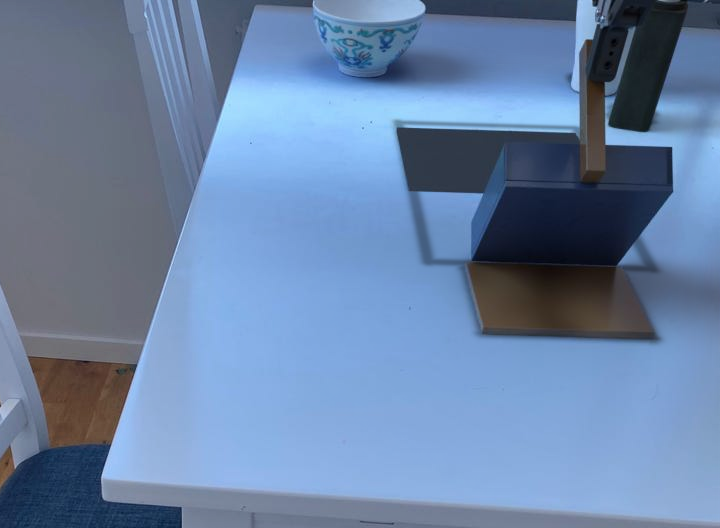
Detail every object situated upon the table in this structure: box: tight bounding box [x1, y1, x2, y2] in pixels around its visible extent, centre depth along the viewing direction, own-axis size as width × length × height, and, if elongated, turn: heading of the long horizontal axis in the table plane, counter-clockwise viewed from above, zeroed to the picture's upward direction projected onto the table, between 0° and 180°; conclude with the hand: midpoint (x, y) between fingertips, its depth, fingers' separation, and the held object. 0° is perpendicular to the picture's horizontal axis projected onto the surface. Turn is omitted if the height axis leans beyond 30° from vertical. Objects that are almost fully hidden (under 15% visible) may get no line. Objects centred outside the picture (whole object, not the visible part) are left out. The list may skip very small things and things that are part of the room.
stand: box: [464, 261, 655, 340], centre depth 87 cm, size 15×12×2 cm
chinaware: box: [312, 0, 427, 78], centre depth 128 cm, size 15×15×8 cm
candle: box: [607, 0, 689, 132], centre depth 110 cm, size 5×5×25 cm
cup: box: [570, 0, 635, 97], centre depth 122 cm, size 10×10×14 cm
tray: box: [470, 39, 674, 267], centre depth 84 cm, size 14×14×12 cm
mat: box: [396, 126, 580, 195], centre depth 104 cm, size 22×36×1 cm, turn 178°
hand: (598, 78), depth 77 cm, fingers closed
